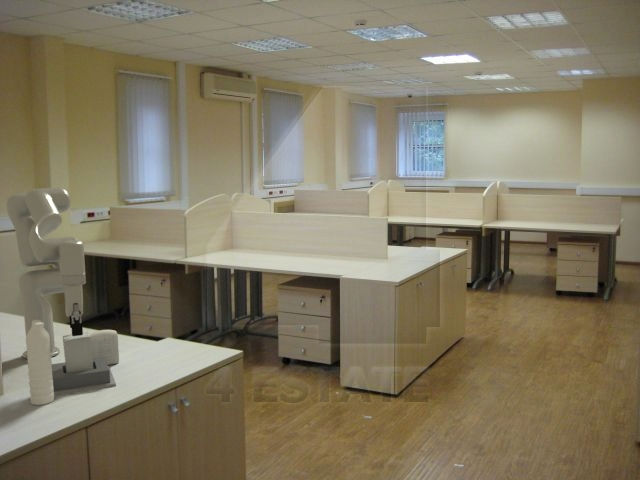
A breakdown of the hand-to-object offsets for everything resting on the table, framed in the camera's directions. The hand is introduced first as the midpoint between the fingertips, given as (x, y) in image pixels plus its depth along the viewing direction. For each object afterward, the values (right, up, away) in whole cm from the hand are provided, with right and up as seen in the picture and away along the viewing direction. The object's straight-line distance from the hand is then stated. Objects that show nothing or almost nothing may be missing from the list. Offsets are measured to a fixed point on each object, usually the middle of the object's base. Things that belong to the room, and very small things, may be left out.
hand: (76, 331), depth 210 cm
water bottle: (-4, -19, -15) cm, 25 cm away
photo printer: (+3, -15, +19) cm, 24 cm away
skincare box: (0, -16, +2) cm, 16 cm away
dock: (+1, -17, +2) cm, 17 cm away
